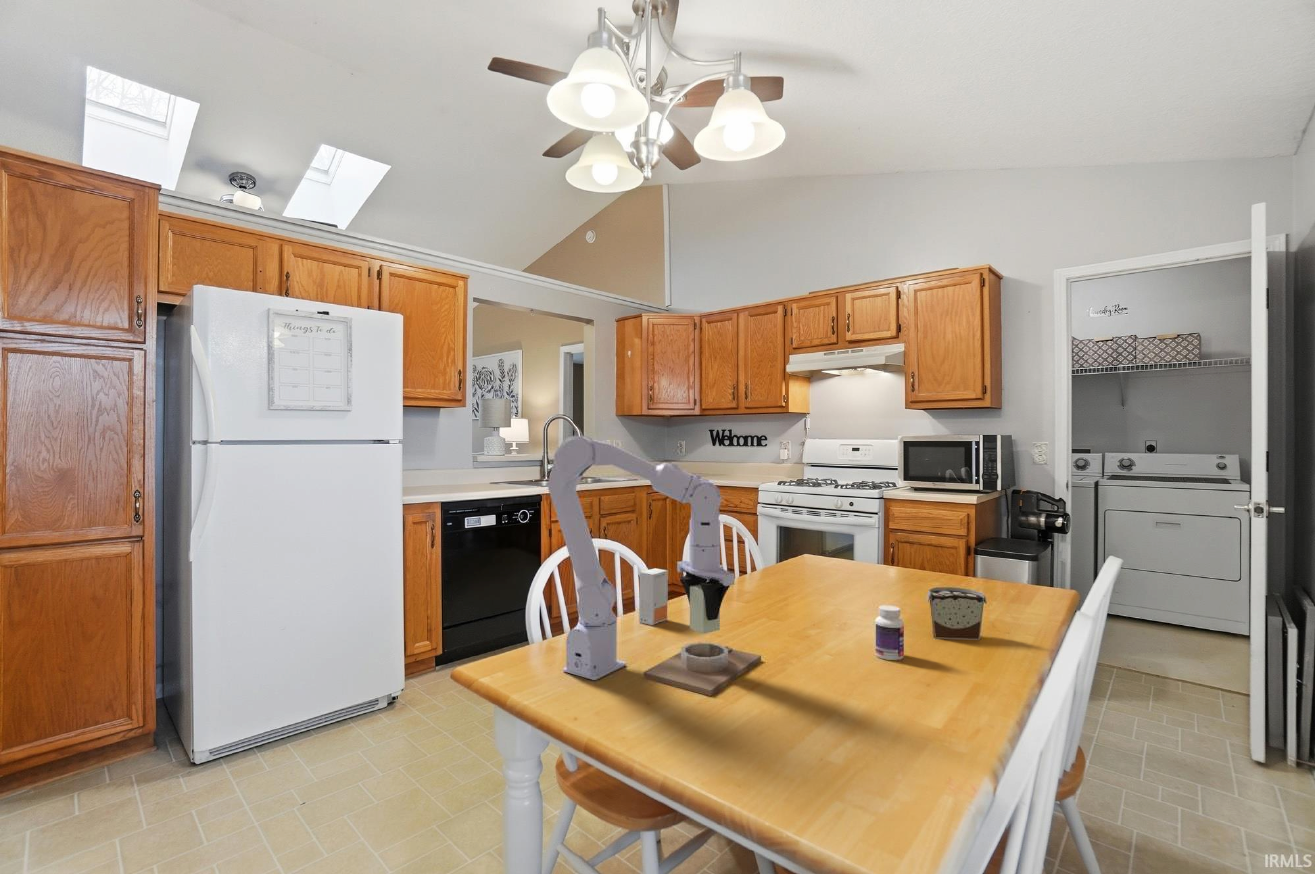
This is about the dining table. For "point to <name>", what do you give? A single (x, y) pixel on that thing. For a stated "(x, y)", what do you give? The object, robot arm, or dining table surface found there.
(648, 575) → the skincare box
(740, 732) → the dining table surface
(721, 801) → the dining table surface
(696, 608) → the sage peg
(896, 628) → the pill bottle
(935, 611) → the food container
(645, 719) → the dining table surface
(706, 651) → the cup bracket
